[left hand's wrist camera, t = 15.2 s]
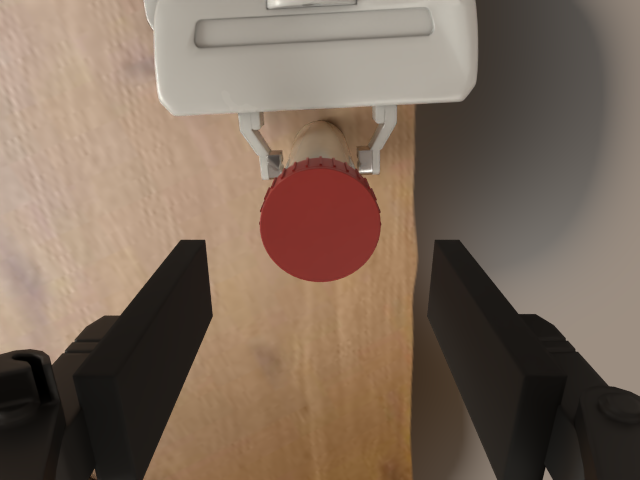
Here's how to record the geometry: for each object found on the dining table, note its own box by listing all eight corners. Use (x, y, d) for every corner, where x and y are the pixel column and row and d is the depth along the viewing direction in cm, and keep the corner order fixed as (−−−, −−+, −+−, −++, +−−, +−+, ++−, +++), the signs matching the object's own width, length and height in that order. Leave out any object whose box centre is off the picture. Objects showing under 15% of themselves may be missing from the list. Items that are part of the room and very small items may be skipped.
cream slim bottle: (354, 131, 37) (387, 194, 19) (335, 181, 38) (349, 283, 20) (303, 113, 36) (287, 159, 18) (286, 164, 38) (256, 253, 20)
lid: (393, 178, 20) (402, 191, 18) (352, 275, 22) (355, 298, 20) (284, 139, 20) (280, 147, 18) (250, 242, 22) (243, 262, 19)
